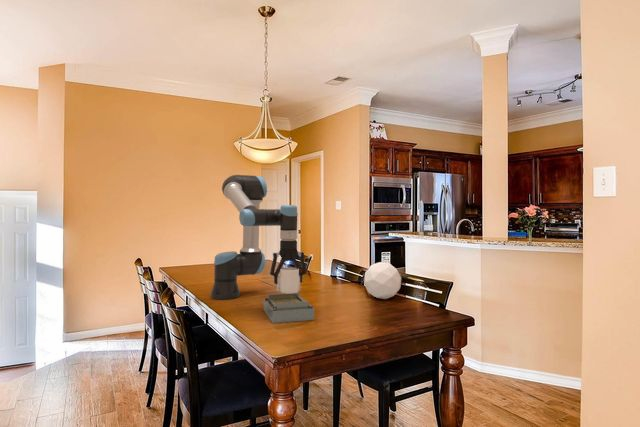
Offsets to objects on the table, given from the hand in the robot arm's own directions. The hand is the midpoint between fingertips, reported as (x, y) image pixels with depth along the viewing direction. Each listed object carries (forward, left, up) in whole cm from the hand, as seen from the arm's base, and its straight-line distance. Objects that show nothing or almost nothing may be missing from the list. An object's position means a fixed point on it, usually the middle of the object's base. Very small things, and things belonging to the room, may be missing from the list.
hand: (288, 290), depth 175 cm
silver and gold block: (0, 0, -11) cm, 11 cm away
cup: (0, -1, 0) cm, 1 cm away
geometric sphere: (-19, +56, -11) cm, 60 cm away
